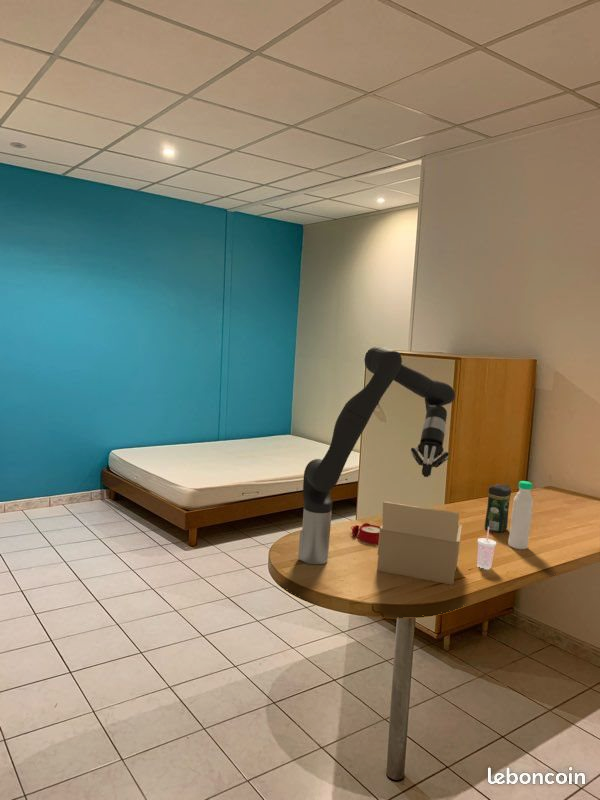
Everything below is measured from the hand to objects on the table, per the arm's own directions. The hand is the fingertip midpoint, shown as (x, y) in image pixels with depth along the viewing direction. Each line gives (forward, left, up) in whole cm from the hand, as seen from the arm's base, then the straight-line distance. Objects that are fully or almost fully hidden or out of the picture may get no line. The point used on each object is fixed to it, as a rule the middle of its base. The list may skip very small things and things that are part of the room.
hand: (425, 475), depth 198 cm
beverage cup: (+21, +12, -31) cm, 40 cm away
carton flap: (0, -11, -12) cm, 16 cm away
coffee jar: (+25, +58, -31) cm, 71 cm away
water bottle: (+33, +40, -31) cm, 61 cm away
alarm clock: (-20, +21, -32) cm, 43 cm away
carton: (0, 0, -31) cm, 31 cm away
